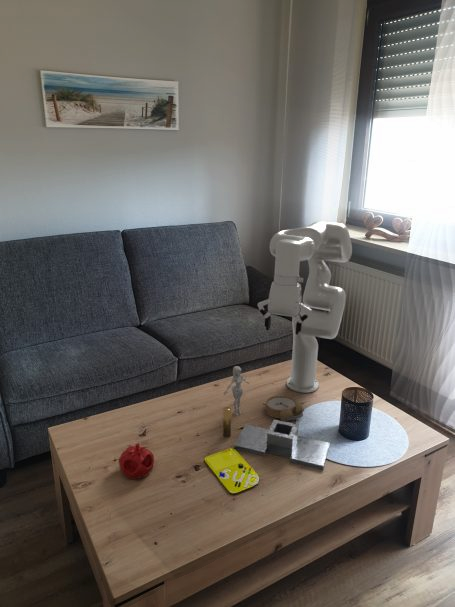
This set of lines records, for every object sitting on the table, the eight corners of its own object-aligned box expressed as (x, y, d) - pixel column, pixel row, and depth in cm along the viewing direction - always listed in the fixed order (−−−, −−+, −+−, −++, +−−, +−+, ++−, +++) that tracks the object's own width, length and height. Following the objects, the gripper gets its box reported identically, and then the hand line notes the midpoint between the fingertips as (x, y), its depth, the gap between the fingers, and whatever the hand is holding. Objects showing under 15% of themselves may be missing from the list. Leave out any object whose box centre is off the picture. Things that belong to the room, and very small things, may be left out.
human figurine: (227, 421, 166) (228, 374, 160) (220, 416, 169) (220, 370, 162) (252, 408, 174) (253, 363, 168) (244, 404, 176) (246, 360, 170)
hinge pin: (224, 432, 160) (225, 406, 156) (231, 433, 159) (232, 407, 156) (221, 436, 158) (222, 410, 154) (229, 438, 157) (229, 411, 153)
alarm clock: (281, 392, 179) (311, 403, 168) (282, 404, 180) (311, 416, 169) (258, 401, 173) (287, 413, 161) (259, 414, 174) (288, 427, 162)
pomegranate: (117, 464, 144) (115, 438, 141) (150, 457, 147) (149, 431, 144) (122, 486, 135) (120, 458, 132) (157, 478, 138) (156, 451, 135)
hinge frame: (245, 428, 162) (246, 410, 160) (329, 446, 153) (331, 428, 151) (233, 448, 152) (234, 429, 149) (323, 470, 143) (325, 450, 140)
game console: (201, 461, 146) (201, 457, 146) (232, 450, 152) (232, 446, 151) (231, 498, 132) (231, 493, 131) (265, 484, 137) (265, 480, 137)
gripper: (315, 280, 151) (311, 331, 156) (262, 274, 156) (259, 323, 161) (312, 286, 144) (307, 339, 149) (256, 279, 149) (253, 331, 154)
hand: (282, 331), depth 155 cm, fingers open, 9 cm apart
